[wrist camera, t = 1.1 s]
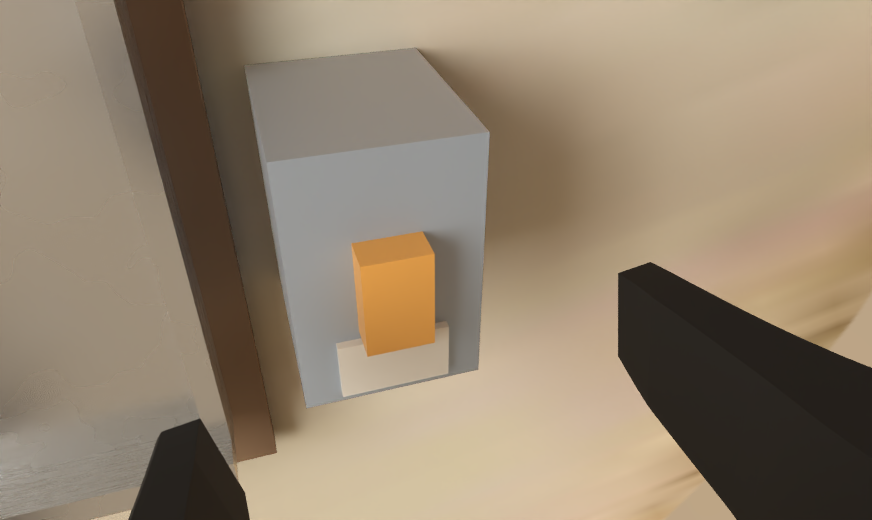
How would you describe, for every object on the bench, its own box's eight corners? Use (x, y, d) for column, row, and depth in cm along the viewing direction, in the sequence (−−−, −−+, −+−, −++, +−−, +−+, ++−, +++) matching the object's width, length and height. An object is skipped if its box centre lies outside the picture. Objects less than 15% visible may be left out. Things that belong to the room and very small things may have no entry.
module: (414, 46, 16) (506, 150, 12) (418, 252, 20) (490, 394, 15) (243, 63, 15) (271, 184, 11) (279, 277, 19) (312, 436, 14)
